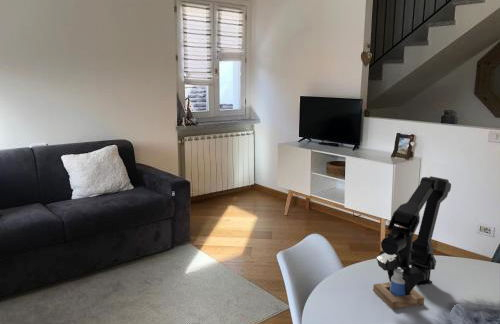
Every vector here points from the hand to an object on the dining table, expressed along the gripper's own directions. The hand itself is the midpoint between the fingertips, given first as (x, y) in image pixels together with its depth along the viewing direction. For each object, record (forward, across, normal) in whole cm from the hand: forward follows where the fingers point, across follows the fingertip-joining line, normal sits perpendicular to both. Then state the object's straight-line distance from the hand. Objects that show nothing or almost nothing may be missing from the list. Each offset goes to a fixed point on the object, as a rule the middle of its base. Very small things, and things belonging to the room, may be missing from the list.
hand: (398, 288), depth 149 cm
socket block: (+4, 0, 0) cm, 4 cm away
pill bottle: (+4, 0, 0) cm, 4 cm away
